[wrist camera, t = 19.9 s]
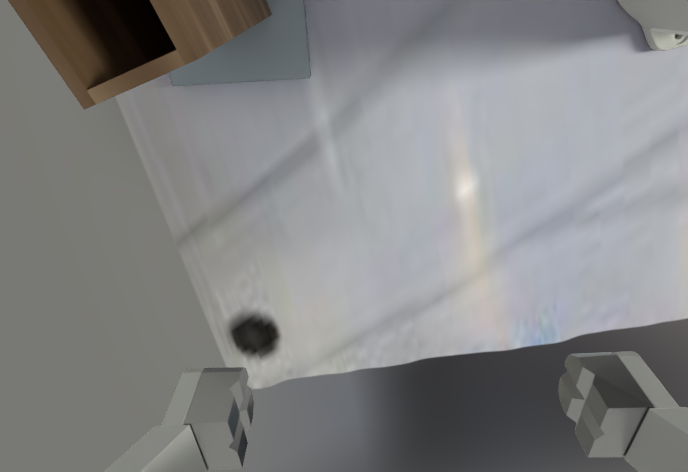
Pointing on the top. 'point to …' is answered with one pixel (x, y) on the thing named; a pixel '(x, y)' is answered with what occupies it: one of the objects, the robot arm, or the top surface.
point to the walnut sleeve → (131, 38)
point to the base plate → (256, 51)
